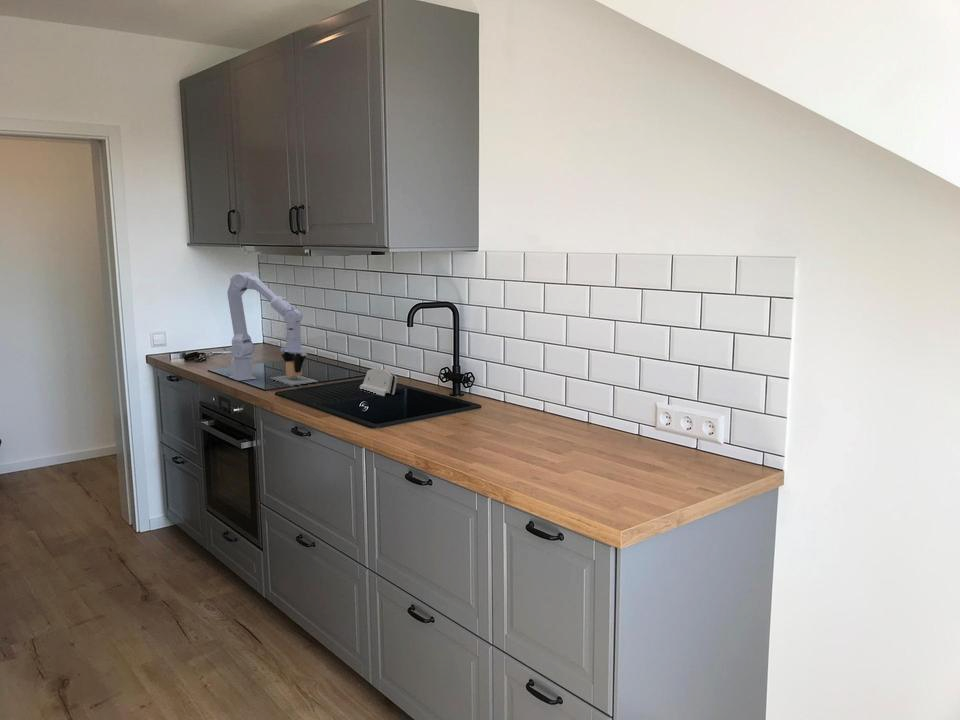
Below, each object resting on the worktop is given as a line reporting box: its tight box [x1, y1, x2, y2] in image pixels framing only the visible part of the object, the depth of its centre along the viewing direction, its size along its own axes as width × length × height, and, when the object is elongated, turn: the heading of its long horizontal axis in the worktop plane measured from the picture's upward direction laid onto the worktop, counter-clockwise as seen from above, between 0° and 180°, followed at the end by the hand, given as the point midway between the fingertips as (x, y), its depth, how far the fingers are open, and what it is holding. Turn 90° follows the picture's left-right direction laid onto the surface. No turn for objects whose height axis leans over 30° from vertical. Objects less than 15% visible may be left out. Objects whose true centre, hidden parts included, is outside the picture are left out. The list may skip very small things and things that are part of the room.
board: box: [269, 375, 319, 387], centre depth 326 cm, size 18×12×4 cm, turn 42°
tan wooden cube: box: [285, 361, 303, 376], centre depth 326 cm, size 5×5×6 cm
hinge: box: [358, 368, 398, 397], centre depth 310 cm, size 17×5×10 cm, turn 44°
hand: (293, 371), depth 326 cm, fingers closed on tan wooden cube, 5 cm apart
